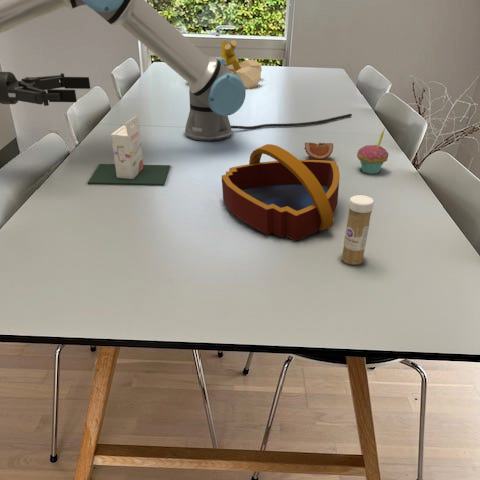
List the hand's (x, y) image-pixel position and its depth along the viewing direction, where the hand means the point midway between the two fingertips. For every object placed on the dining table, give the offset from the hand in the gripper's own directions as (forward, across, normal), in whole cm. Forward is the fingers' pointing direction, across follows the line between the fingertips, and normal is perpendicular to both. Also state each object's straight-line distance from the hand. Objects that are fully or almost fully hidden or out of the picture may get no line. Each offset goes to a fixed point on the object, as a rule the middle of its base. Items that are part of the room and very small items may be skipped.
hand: (82, 89), depth 135 cm
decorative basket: (+50, +20, -22) cm, 59 cm away
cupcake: (+76, -7, -23) cm, 80 cm away
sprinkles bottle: (+64, +45, -22) cm, 81 cm away
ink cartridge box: (+10, 0, -22) cm, 24 cm away
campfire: (+30, -115, -23) cm, 121 cm away
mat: (+10, 0, -22) cm, 24 cm away
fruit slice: (+62, -16, -23) cm, 68 cm away
